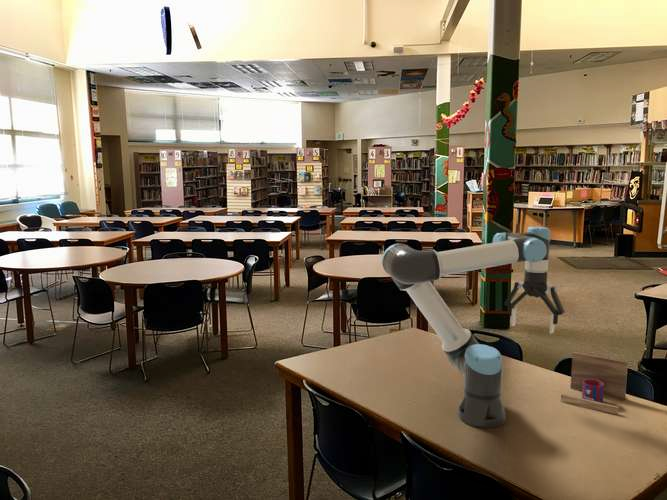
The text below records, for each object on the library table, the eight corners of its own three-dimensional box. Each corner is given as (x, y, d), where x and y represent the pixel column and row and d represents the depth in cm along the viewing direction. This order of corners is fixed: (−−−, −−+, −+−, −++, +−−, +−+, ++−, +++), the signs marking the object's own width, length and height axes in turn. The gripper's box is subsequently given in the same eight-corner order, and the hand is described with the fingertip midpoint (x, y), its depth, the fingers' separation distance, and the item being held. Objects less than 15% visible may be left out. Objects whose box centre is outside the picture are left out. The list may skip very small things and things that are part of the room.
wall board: (624, 400, 186) (627, 362, 184) (570, 388, 197) (572, 352, 195) (625, 397, 188) (628, 360, 186) (572, 385, 199) (574, 350, 197)
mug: (578, 400, 186) (579, 382, 185) (591, 392, 193) (592, 375, 192) (597, 406, 181) (598, 388, 180) (610, 398, 187) (611, 380, 186)
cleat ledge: (617, 414, 175) (617, 407, 174) (560, 401, 186) (561, 394, 185) (617, 413, 176) (618, 406, 175) (561, 400, 186) (561, 393, 186)
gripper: (576, 273, 179) (571, 333, 182) (505, 265, 194) (501, 320, 197) (570, 276, 173) (565, 338, 176) (497, 267, 188) (494, 324, 191)
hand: (532, 329), depth 187 cm, fingers open, 13 cm apart
